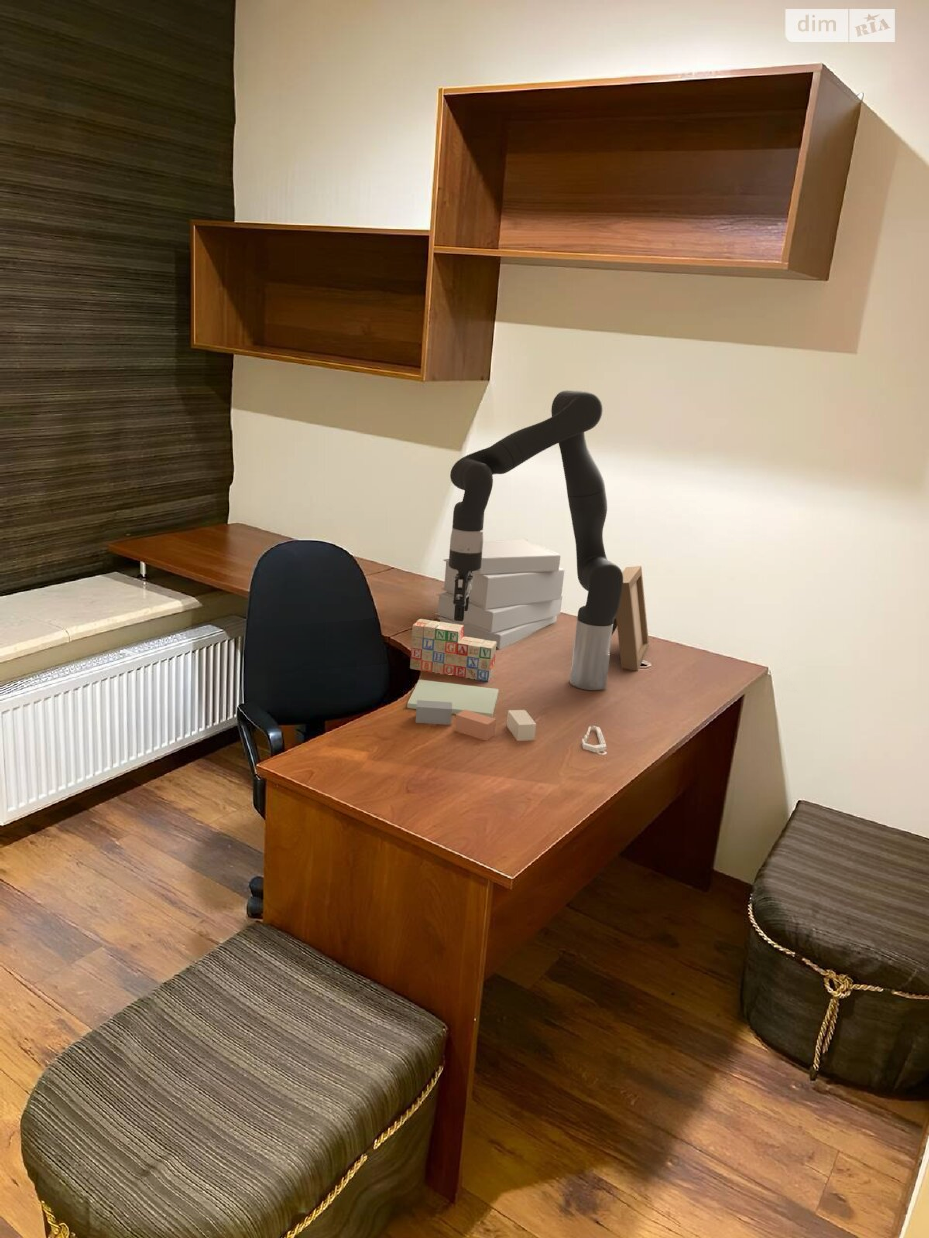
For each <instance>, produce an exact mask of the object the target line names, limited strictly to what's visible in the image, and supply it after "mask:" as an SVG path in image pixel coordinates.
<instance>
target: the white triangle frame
mask: <svg viewBox="0 0 929 1238" xmlns="http://www.w3.org/2000/svg"><path fill="white" fill-rule="evenodd" d="M591 730H595V732H596V735H597V740H598V742H599V744H595V745H593V744H590V743H588V740H589V737H590V734H591V733H590V732H591ZM581 745H582V749H583V750H587V751H590V752H593V753H596V754H599V755H605V756H606V755H607V751H606V750H607V743H606V741H605V738H604V735H603V732H602V730H601V727H599V726H595V725H592V726H588V729H587V731H586V734H584V737H583V738H581ZM601 752H603V753H601Z"/></svg>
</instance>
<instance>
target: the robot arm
mask: <svg viewBox="0 0 929 1238" xmlns="http://www.w3.org/2000/svg"><path fill="white" fill-rule="evenodd" d="M550 409H551V410H550V414H551V417H549V418H547V419H545V420H543V421H540V422H538V423H535V424H533V425H529V426H526V427H523V428H521V429H518V430H517V431H514V432H512V433H510V434H509V435H507V436H505V437H503V438H501V439H499V440H498V441H497V442H495V443H494V444H492V445H491V446H488V447H486V448H483V449H480V450H477V451H475V452H472V453H469V454H467V455H465V456H463V457H461V458H460V459H458V460H457V461H456V462H455V463H454V464H453V466H452V468H451V469H450V476H449V477H450V481H451V483H452V484H453V485H454V486H455V487H456V488H458V489H459V490H462V491H464V492H463V496H462V497H463V498H462V501H459V502H457V503H456V504H454V507H453V513H452V514H453V515H452V528H451V533H450V537H449V538H450V541H449V553H448V554H449V555H448V559H449V567H450V568H452V569H454V570H455V569H456V570H457V571H458V574H456V576H455V579H454V583H455V587H454V601H453V604H454V605H455V612H454V620H455V621H463V620H464V611H467V610H468V606H469V595H470V594H471V592H470V591H471V590H472V582H473V575H472V572H473V571H477V570H479V569H480V568H481V563H482V550H483V541H484V520H485V511H486V508H487V505H488V502H489V499H490V496H491V494H492V491H493V489H492V488H493V484H494V479H493V476H494V475H504V474H507V473H509V472H510V471H512V470H514V469H515V468H517V467H518V466H521V465H522V464H523V463H525V462H527V461H528V460H530V459H531V458H533V457H535V456H537V455H538V454H540V453H542V452H543V451H546V450H547V449H550V448H551V447H553V446H555V445H557V444H558V445H559V446H558V447H559V450H560V456H561V461H562V467H563V474H564V479H565V486H566V494H567V500H568V507H569V512H570V517H571V518H570V519H571V522H572V523H571V524H572V529H573V535H574V541H575V551H576V553H575V554H576V573H577V578H578V582H579V584H580V585H581V587H582V588H583V589H584V590H586V591H587V598H586V602H585V605H583V606H581V607H580V608H579V609H578V611H577V618H576V626H575V627H576V628H575V635H574V643H573V649H572V659H571V669H570V673H569V683H570V685H572V686H574V687H575V688H578V689H582V690H586V691H598V690H603V691H604V690H606V688H607V680H608V672H609V665H610V657H611V654H610V652H611V645H612V644H611V643H612V637H613V635H612V630H613V623H614V618H615V616H616V614H617V612H618V609H619V605H620V599H621V594H622V588H623V574H622V572H623V570H621V568H620V567H619V566H618V565H617V564H616V563H613V562H611V561H609V560H608V557H607V555H606V552H605V545H604V538H603V535H604V534H603V532H604V527H605V522H606V518H607V513H608V499H607V493H606V492H607V491H606V486H605V480H604V477H603V475H602V473H601V470H600V468H599V467H598V465H597V464H596V462H595V460H594V458H593V457H592V454H591V453H590V452H591V451H590V450H589V448H588V445H587V441H586V434H585V432H588V431H590V430H592V429H594V428H596V426H597V425H598V424H599V422H600V421H601V418H602V416H603V404H602V401H601V400H600V398H599V397H598V396H597V394H594V393H592V392H589V391H583V390H572V389H571V390H568V389H567V390H561V391H560V392H558V393H557V394H556V395H555V397H554V398H553V401H552V404H551V408H550ZM458 596H460V599H458Z"/></svg>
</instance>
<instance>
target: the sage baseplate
mask: <svg viewBox="0 0 929 1238" xmlns="http://www.w3.org/2000/svg"><path fill="white" fill-rule="evenodd" d="M498 696H499V688H492V687H491V688H490V687H484V686H483V687H482V686H476V685H467V684H461V683H460V684H459V683H458V684H457V683H451V682H441V681H435V680H428V679H427V680H425V679H418V680H417V683H416V685H415V688H414V689H413V691H412V693H411V695H410V697H409V699H408V701H407V703H406V704H407V705H406V708H407V709H413V710H416V708H417V700H423V701H438V702H452V715H453V714H454V715H456V714H458V713H460V712H462V711H463V710H469V711H472V712H475V713H478V714H482V715H485V716H488V717H491V718H494V717H493V716H494V712H495V709H496V708H495V707H496V705H497V700H498Z"/></svg>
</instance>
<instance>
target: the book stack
mask: <svg viewBox="0 0 929 1238" xmlns="http://www.w3.org/2000/svg"><path fill="white" fill-rule="evenodd" d="M443 562H445V570H444V571H445V573H444V583H443V584H444V585H443V586H444V587H441V591H442V590H443V591H444V592H442V593H441V592H440V593H437V594H436V596H437V597H438V608H437V609H438V610H437V612H435V615H438V616H439V617H437V620H440V621H439V622H445V623H452V624H458V625H464V631H463V637H471V638H477V639H484V640H489V641H496V642H497V644H496V647H497V648H496V649H498V650H502V649H503V648H504V649H505V648H506V647H508V646H511V645H512V644H514V643H516V642H519V641H521V640H523V639H525V638H527V637H529V636H531V635H533V634H535V632H536V631H540V630H541V629H543V628H545V627H547V626H549V625H551V624H554V623H556V622H557V617H558V616H560V615H561V611H562V605H563V604H562V603H563V595H562V594H563V586H564V585H563V584H564V577H565V570H564V568H563V567H560V564H561V554H560V553H558V552H555V551H553V550H551V549H548V548H546V547H544V546H542V545H539V544H537V543H535V542H532V541H530V540H528V539H517V540H516V539H514V540H513V539H511V540H509V539H507V540H483V550H482V563H481V568H480V569H479V570H477V571H473V572H472V575H473V582H472V590H471V591H470V592H471V594H470V595H469V606H468V610H467V611H464V620H463V621H455V620H454V612H455V605H454V604H453V601H454V587H455V583H454V579H455V576H456V574H458V571H457V570H456V569H455V570H454V569H452V568H450V567H449V558H445V559H443ZM458 599H460V596H458Z"/></svg>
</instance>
